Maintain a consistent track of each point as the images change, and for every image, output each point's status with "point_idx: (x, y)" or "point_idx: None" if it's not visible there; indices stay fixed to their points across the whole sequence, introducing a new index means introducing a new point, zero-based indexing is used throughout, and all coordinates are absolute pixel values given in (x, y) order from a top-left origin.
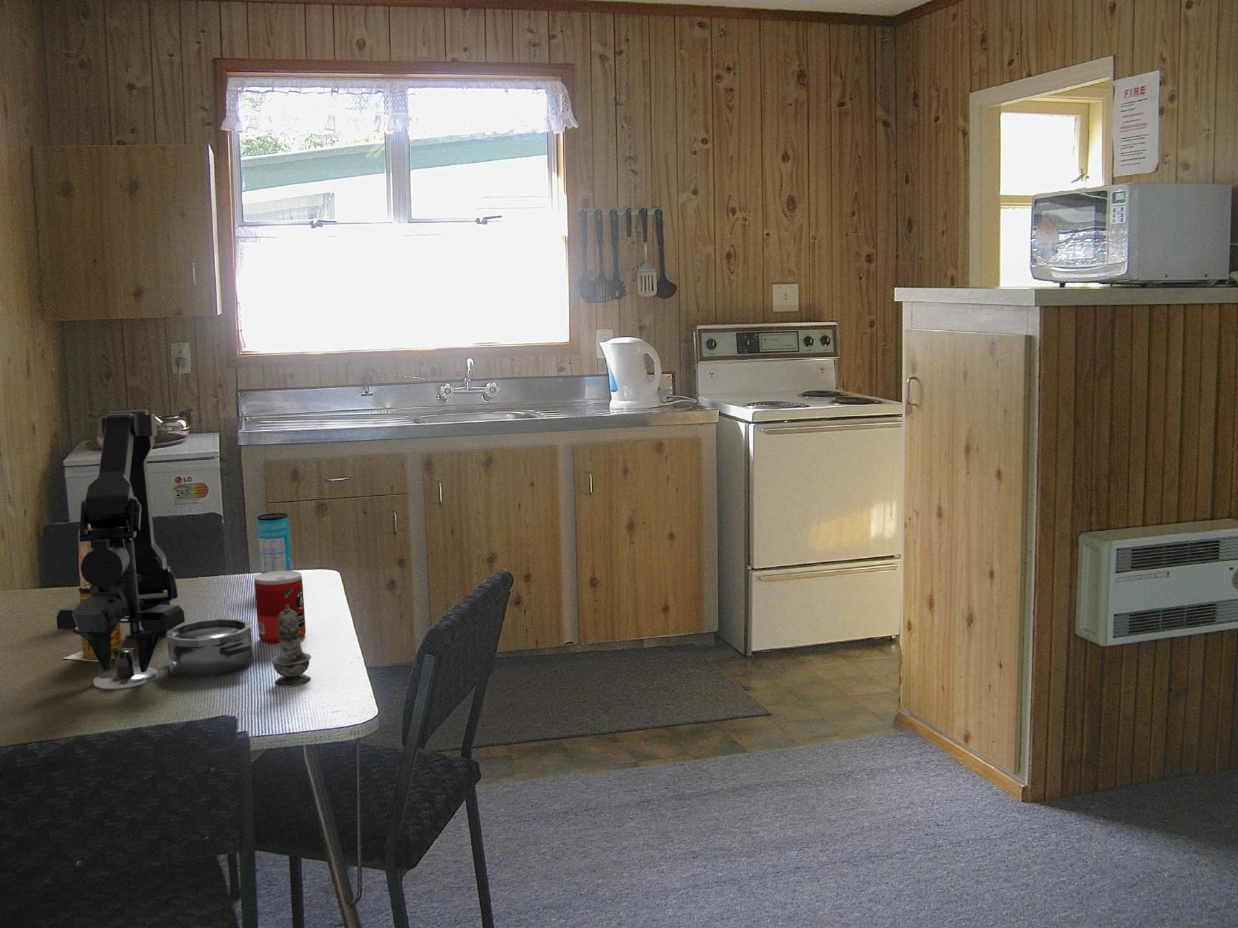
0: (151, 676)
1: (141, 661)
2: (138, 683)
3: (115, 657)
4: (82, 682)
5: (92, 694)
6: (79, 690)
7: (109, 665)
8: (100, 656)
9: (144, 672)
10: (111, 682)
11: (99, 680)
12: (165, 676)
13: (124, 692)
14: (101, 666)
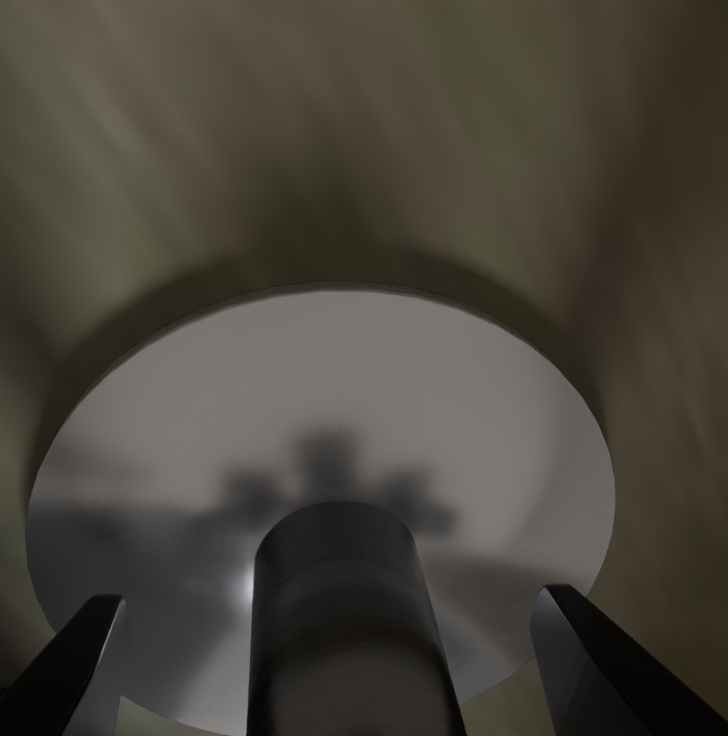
0: (52, 581)
1: (28, 702)
2: (67, 421)
3: (427, 717)
4: (709, 441)
5: (447, 71)
6: (665, 218)
7: (540, 658)
8: (660, 717)
9: (213, 653)
10: (383, 404)
11: (544, 447)
12: (4, 636)
13: (58, 166)
14: (603, 614)
